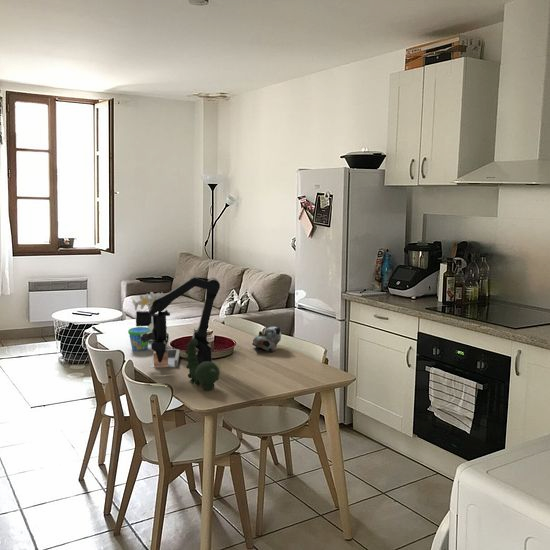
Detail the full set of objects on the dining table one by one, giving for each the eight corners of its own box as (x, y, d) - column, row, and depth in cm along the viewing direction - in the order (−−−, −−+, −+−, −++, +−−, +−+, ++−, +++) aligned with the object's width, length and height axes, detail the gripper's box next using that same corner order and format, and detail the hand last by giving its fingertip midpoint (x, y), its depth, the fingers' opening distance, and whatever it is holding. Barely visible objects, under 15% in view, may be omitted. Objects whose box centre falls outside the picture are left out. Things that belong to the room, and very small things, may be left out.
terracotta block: (154, 363, 279) (154, 350, 278) (168, 363, 280) (167, 349, 279) (153, 366, 275) (153, 352, 274) (167, 365, 276) (167, 352, 275)
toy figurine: (180, 382, 260) (205, 395, 239) (178, 338, 259) (203, 347, 237) (201, 378, 265) (227, 390, 244) (198, 335, 263) (225, 343, 242)
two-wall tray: (179, 355, 293) (179, 349, 292) (177, 367, 275) (177, 360, 275) (153, 356, 292) (153, 349, 291) (150, 368, 274) (149, 361, 273)
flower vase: (130, 339, 322) (128, 292, 318) (164, 335, 331) (162, 289, 327) (138, 345, 311) (136, 296, 307) (172, 340, 320) (171, 293, 316)
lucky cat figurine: (252, 345, 311) (264, 320, 312) (274, 355, 309) (286, 330, 310) (249, 344, 296) (261, 318, 297) (271, 355, 294) (284, 329, 295)
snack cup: (154, 352, 299) (153, 332, 297) (132, 355, 294) (131, 334, 293) (147, 344, 313) (146, 324, 311) (126, 346, 309) (125, 326, 307)
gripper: (143, 321, 283) (144, 353, 286) (138, 331, 265) (140, 366, 267) (168, 320, 284) (169, 353, 287) (165, 330, 266) (166, 365, 268)
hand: (160, 359), depth 277 cm, fingers open, 9 cm apart
